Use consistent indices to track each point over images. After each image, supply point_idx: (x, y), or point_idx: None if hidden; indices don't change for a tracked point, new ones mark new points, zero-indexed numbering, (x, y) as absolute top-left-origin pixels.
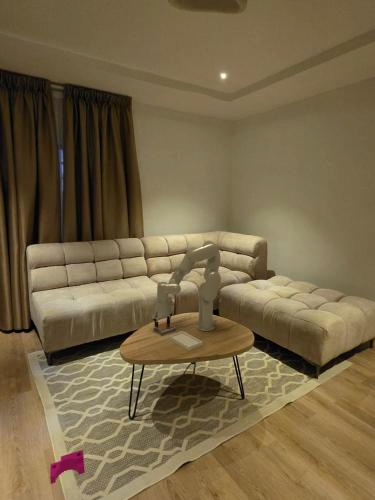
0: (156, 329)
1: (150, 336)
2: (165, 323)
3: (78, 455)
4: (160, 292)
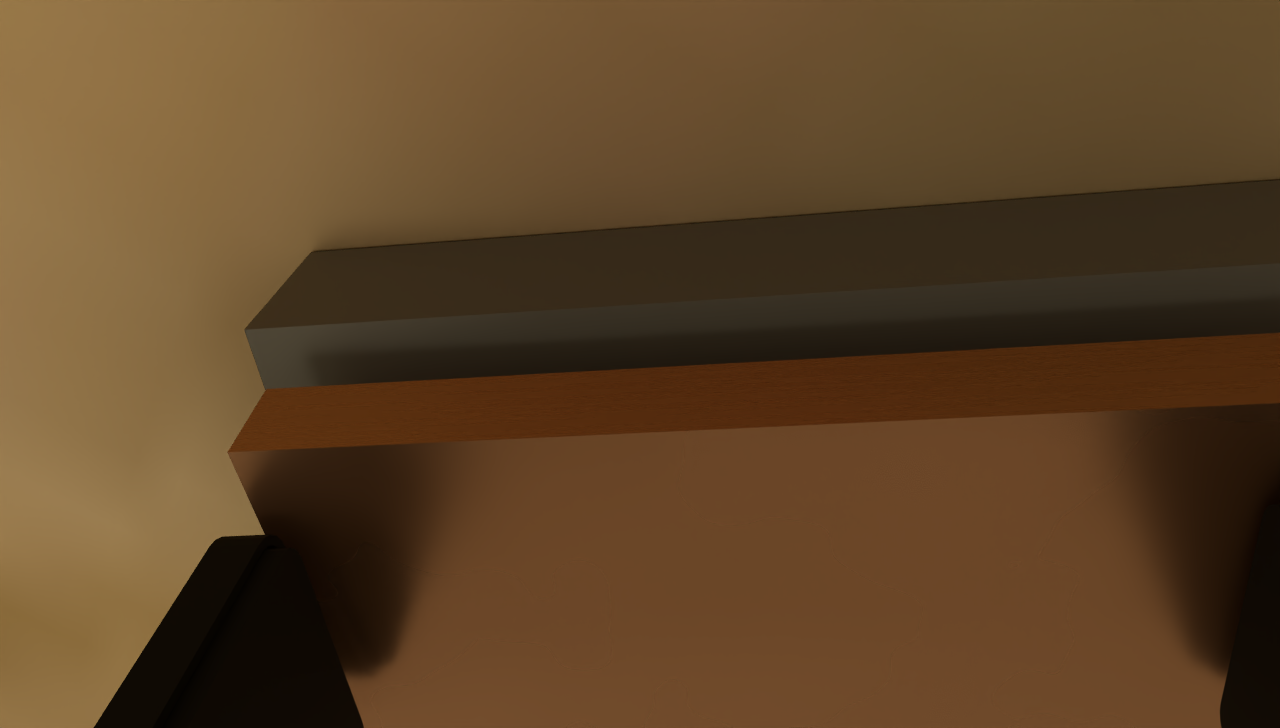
0: None
1: (55, 578)
2: (1104, 527)
3: None
4: None
